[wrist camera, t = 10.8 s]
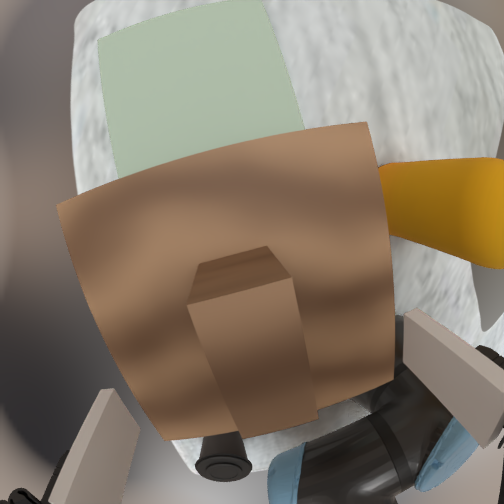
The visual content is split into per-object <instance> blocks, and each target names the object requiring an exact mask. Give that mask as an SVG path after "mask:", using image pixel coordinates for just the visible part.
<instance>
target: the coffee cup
mask: <svg viewBox="0 0 504 504" xmlns="http://www.w3.org/2000/svg"><path fill="white" fill-rule="evenodd" d="M195 468H196V470H197V471H198V473H199V474H200V475H201V476H203V477H205V478H206V479H209V480H213V481H219V482H230V481H236V480H240V479H242V478H244V477H246V476H247V475H248V474H249V473H250V472H251V470H252V464H251V462H250V461H249V460H248V458H247V455H246V451H245V447H244V443H243V440H242V437H241V435H240V433H239V431H234V432H229V433H223V434H217V435H211V436H204V438H203V443H202V448H201V453H200V457H199V460H197V462H196V464H195Z"/></svg>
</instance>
